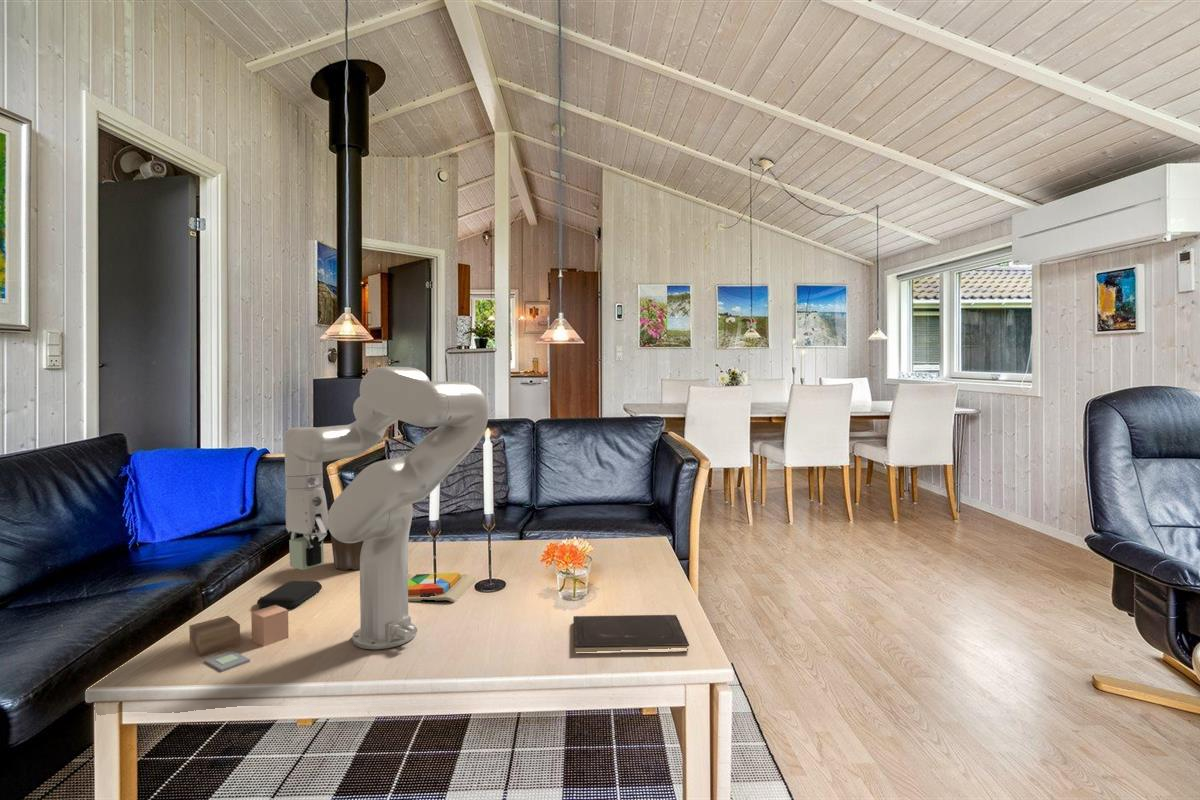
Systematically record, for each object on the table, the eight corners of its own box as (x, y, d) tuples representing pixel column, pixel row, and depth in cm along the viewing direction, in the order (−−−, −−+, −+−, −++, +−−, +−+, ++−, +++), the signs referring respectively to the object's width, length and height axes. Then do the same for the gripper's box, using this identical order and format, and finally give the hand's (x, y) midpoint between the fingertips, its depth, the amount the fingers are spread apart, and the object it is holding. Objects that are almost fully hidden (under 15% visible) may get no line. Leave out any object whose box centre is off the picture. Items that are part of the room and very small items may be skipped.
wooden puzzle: (410, 579, 166) (409, 567, 166) (476, 582, 164) (476, 569, 164) (380, 602, 149) (380, 588, 149) (454, 606, 147) (454, 591, 147)
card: (249, 661, 117) (249, 658, 116) (221, 671, 112) (221, 668, 112) (232, 652, 120) (232, 649, 120) (204, 661, 116) (204, 659, 116)
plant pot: (350, 576, 167) (350, 518, 166) (313, 567, 175) (313, 512, 174) (397, 561, 181) (396, 508, 180) (361, 553, 189) (360, 502, 189)
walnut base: (240, 646, 124) (239, 624, 124) (200, 657, 118) (200, 635, 118) (228, 636, 128) (228, 615, 128) (189, 647, 123) (189, 625, 123)
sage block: (323, 564, 137) (322, 537, 137) (302, 569, 133) (301, 542, 133) (311, 560, 140) (310, 535, 140) (290, 566, 136) (289, 539, 136)
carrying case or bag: (284, 590, 157) (249, 611, 143) (284, 578, 157) (249, 598, 142) (325, 590, 157) (293, 612, 142) (325, 579, 157) (293, 599, 142)
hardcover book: (689, 655, 121) (689, 644, 121) (573, 657, 120) (573, 646, 120) (675, 623, 137) (675, 613, 137) (573, 625, 136) (573, 615, 136)
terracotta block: (288, 638, 127) (288, 609, 127) (264, 646, 123) (263, 617, 123) (276, 632, 130) (275, 604, 130) (251, 640, 126) (251, 612, 126)
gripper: (342, 482, 134) (344, 564, 135) (299, 477, 144) (302, 553, 144) (309, 487, 128) (312, 573, 129) (267, 482, 138) (270, 561, 138)
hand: (306, 562), depth 137 cm, fingers closed on sage block, 4 cm apart
